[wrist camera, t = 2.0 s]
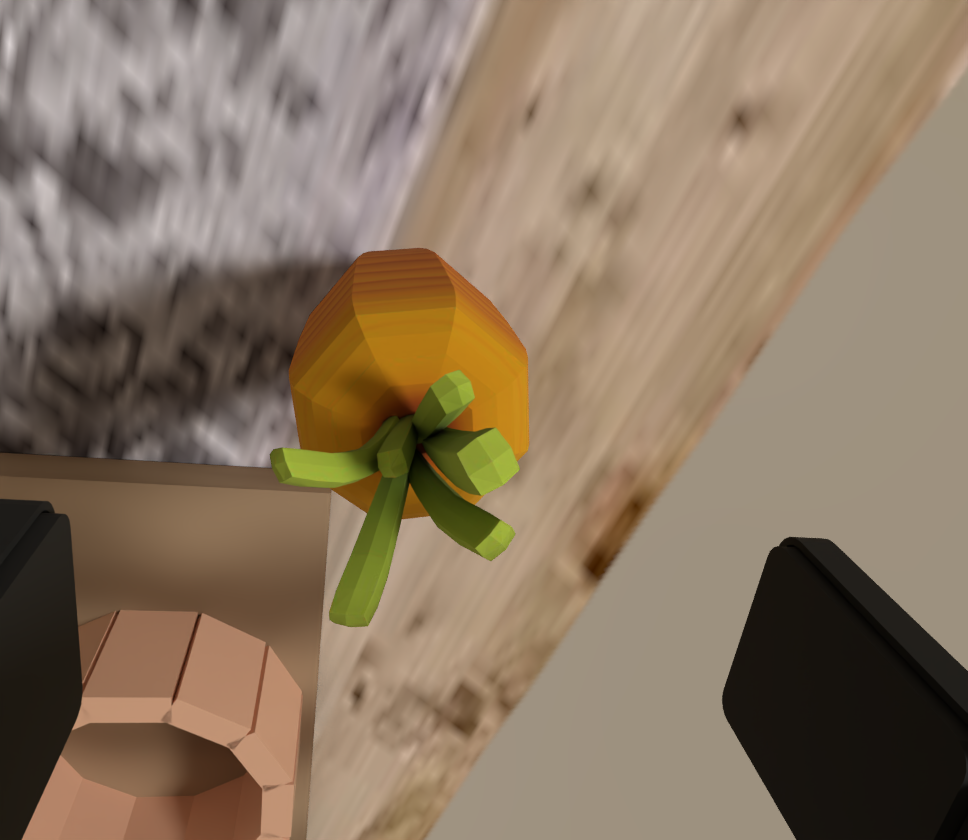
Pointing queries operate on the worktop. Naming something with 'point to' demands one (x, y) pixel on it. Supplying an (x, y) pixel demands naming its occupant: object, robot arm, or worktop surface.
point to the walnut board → (187, 590)
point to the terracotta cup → (194, 708)
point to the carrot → (406, 411)
